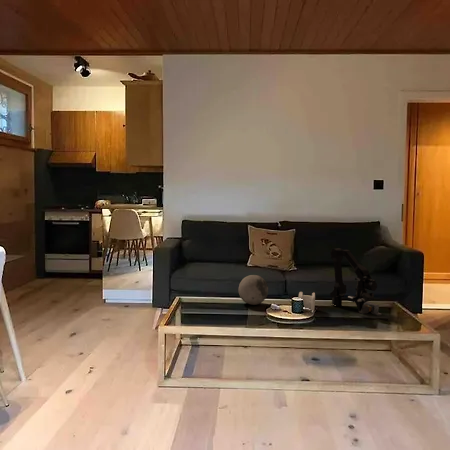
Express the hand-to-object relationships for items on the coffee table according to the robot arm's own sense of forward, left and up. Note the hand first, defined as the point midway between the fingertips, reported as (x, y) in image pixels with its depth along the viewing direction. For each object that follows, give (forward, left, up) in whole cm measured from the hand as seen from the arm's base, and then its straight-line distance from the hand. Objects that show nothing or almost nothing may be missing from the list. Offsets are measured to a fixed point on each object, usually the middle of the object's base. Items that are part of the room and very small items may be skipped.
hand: (359, 310), depth 349 cm
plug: (0, +9, -2) cm, 9 cm away
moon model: (-43, -56, -2) cm, 71 cm away
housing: (0, +9, -2) cm, 9 cm away
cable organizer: (-16, -32, -2) cm, 36 cm away
